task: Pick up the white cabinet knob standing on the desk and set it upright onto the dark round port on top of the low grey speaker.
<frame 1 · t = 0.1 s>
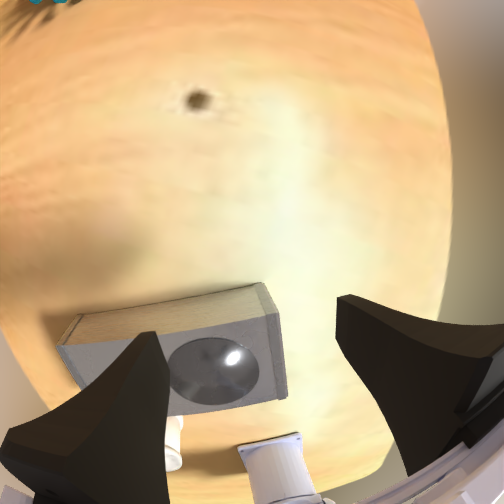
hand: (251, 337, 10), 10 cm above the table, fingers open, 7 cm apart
grey speaker: (175, 344, 21), on the table
white cabinet knob: (156, 414, 23), on the table
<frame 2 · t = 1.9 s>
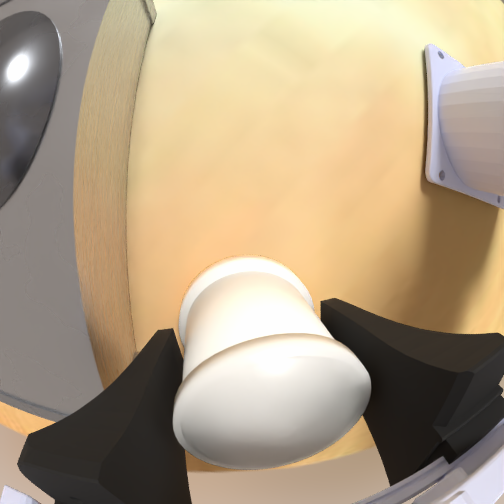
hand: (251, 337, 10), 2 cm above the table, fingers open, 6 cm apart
grey speaker: (43, 194, 9), on the table
white cabinet knob: (245, 316, 12), on the table
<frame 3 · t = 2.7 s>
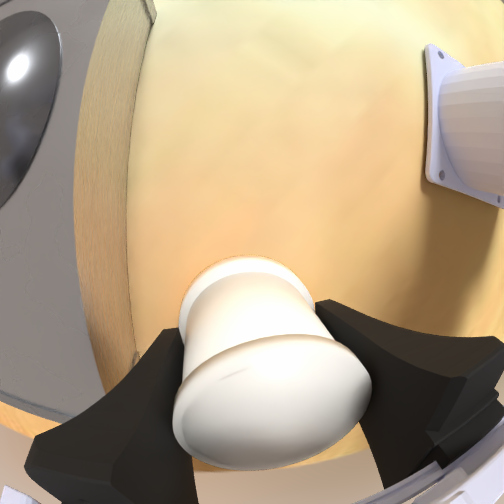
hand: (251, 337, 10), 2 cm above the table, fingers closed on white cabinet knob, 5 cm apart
grey speaker: (43, 194, 9), on the table
white cabinet knob: (245, 316, 12), on the table, touching gripper
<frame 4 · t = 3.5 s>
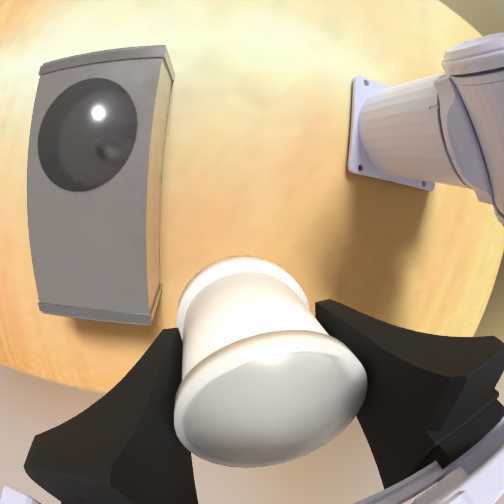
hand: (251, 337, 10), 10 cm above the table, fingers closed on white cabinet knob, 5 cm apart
grey speaker: (106, 182, 16), on the table
white cabinet knob: (241, 316, 12), point 8 cm above the table, touching gripper
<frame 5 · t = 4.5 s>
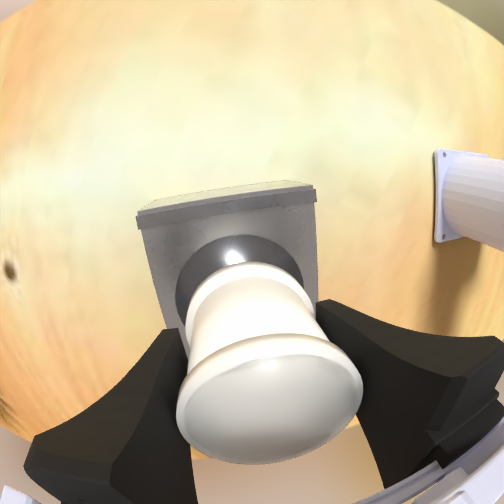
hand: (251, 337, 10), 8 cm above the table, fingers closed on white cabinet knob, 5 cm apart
grey speaker: (238, 307, 18), on the table
white cabinet knob: (249, 319, 12), point 6 cm above the table, touching gripper
when the fingers open (7 cm above the table, at t = 5.1 s): white cabinet knob stays where it is, resting on grey speaker.
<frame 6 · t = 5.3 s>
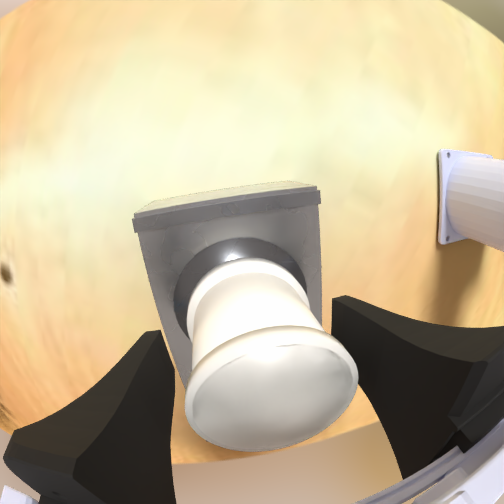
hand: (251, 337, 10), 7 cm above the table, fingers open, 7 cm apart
grey speaker: (239, 311, 18), on the table
white cabinet knob: (247, 313, 13), point 5 cm above the table, touching grey speaker
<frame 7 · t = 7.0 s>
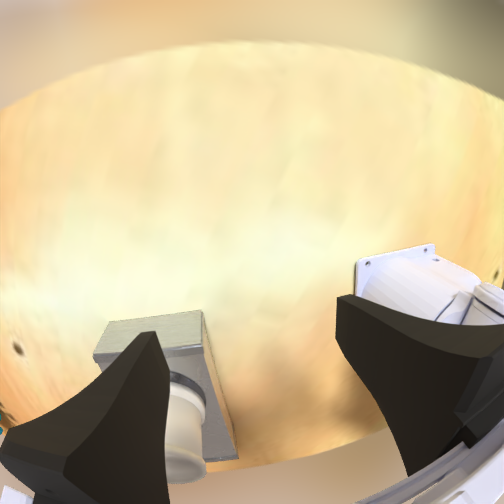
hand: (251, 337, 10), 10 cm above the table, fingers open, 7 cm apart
grey speaker: (178, 386, 23), on the table
white cabinet knob: (168, 404, 18), point 5 cm above the table, touching grey speaker
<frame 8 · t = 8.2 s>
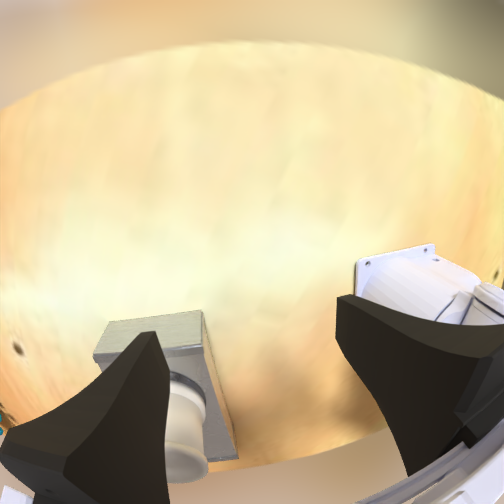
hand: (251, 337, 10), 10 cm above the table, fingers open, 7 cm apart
grey speaker: (178, 386, 23), on the table
white cabinet knob: (168, 404, 18), point 5 cm above the table, touching grey speaker
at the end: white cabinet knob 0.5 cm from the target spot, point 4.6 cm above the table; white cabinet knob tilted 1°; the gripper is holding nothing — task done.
